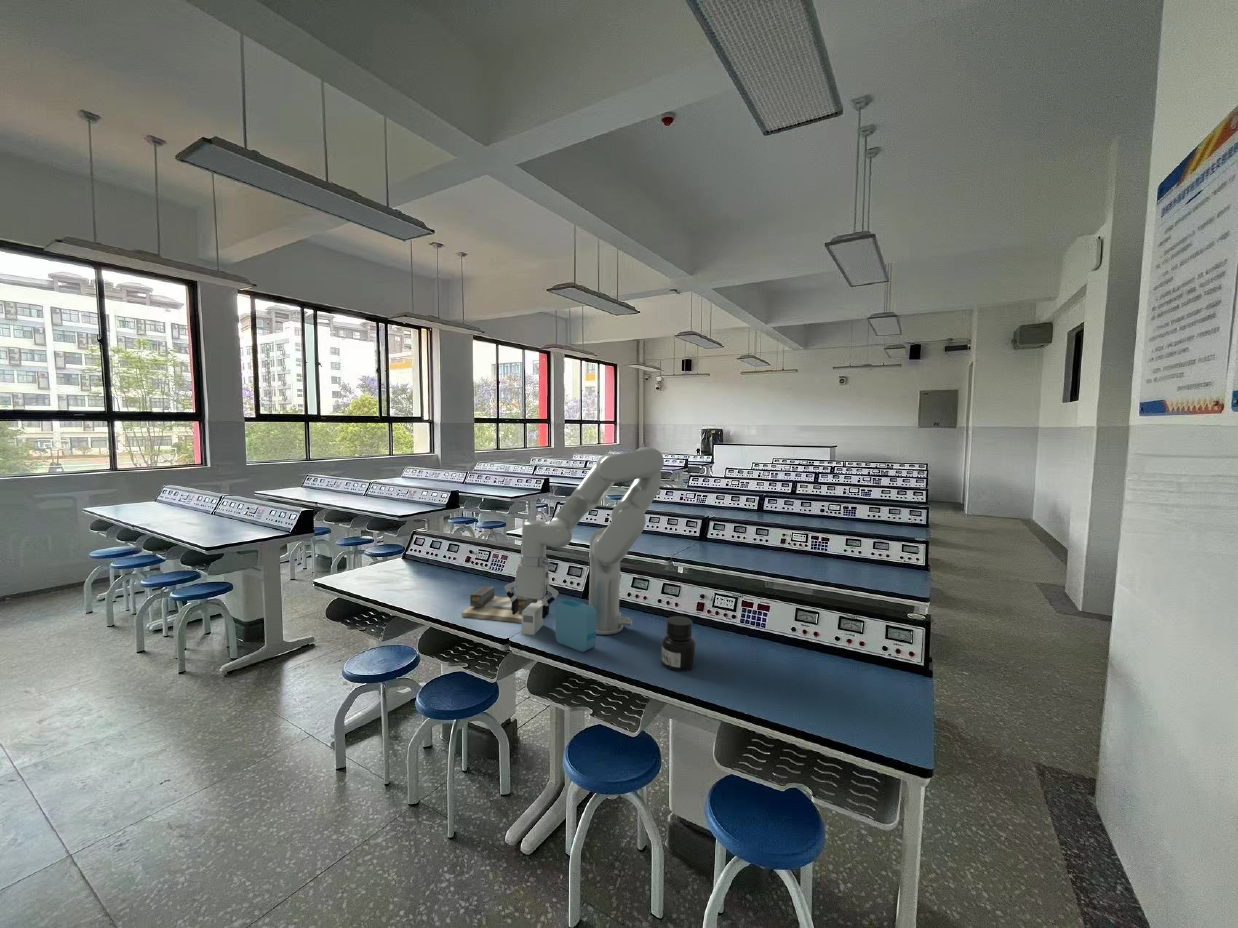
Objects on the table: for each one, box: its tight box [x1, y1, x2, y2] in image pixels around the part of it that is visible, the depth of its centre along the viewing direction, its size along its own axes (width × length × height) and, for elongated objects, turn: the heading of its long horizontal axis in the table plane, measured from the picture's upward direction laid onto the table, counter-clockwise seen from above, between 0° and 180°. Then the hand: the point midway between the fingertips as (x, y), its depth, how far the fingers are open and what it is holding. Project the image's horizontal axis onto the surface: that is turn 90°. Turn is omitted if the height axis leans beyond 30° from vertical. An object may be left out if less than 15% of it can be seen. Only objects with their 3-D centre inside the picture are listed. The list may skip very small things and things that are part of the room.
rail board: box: [461, 585, 544, 624], centre depth 172 cm, size 22×18×6 cm
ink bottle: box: [661, 615, 696, 671], centre depth 135 cm, size 10×9×12 cm
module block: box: [521, 603, 544, 636], centre depth 157 cm, size 4×8×7 cm, turn 169°
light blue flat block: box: [555, 598, 597, 653], centre depth 146 cm, size 12×4×12 cm, turn 52°
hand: (529, 615), depth 156 cm, fingers open, 9 cm apart
